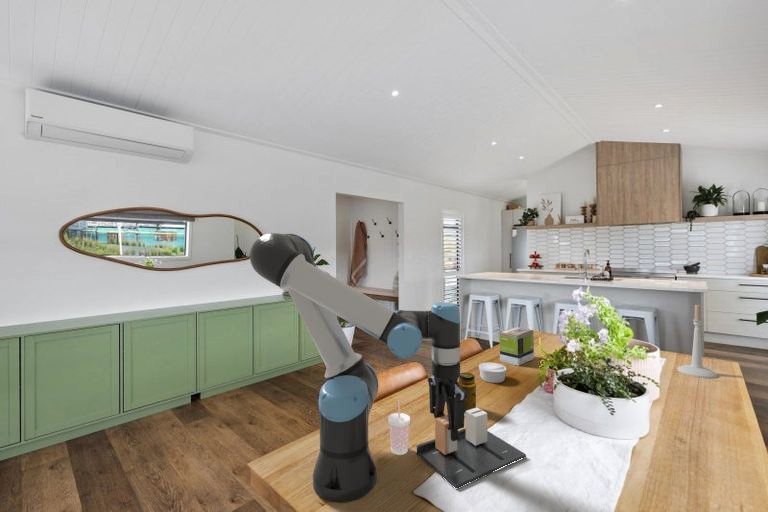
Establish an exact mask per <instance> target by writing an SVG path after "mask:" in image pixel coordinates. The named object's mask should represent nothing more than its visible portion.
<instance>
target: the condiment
mask: <svg viewBox="0 0 768 512" xmlns="http://www.w3.org/2000/svg"><path fill="white" fill-rule="evenodd" d="M475 376H476V375H474V373H471V372H460V376H459V378H458V385H459V389H460V390H461V391H462V392H463V391H465V392H466V394H467V395H466V398H465V411H464V418H466V411H467V410H470V409H474V408H477V392H476V391H477V384H476V380H475V379H476V378H475Z"/></svg>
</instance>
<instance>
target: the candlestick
mask: <svg viewBox="0 0 768 512" xmlns="http://www.w3.org/2000/svg"><path fill="white" fill-rule="evenodd" d="M701 317H702V305H700V304H694V319H692V321H693V325H694V330H693V342H692V351H691V352H692V354H691V363H690V364H683V365H680V366H677V371H678V372H679V373H682V374H684V375H687V376H692V377H694V378H695V377H696V378H702V379H715V378H717V377H718V374H717V373H716V372H715V371H714V370H712V369H710V368H707V367H704V365H703V356H702V355H703V354H702V353H703V351H702V337H701V336H702V334H701V330H702V329H701V326H702V323H703V322H704V320H702V318H701Z"/></svg>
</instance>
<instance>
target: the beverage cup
mask: <svg viewBox="0 0 768 512" xmlns="http://www.w3.org/2000/svg"><path fill="white" fill-rule="evenodd" d="M397 403H398V404H397V411H398V412H395V413H391V414H389V415H388V416H387V420H388V423H389V425H388V426H389V438H390V439H389V441H390V450H391V453H392V454H394V455H397V456H401V455H406V454H407V453H408V450H409V433H410V422H411V417H410V415H408V414H406V413H403V412H401V400H400V399H398V400H397Z"/></svg>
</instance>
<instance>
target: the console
mask: <svg viewBox="0 0 768 512" xmlns="http://www.w3.org/2000/svg"><path fill="white" fill-rule="evenodd" d="M416 455H417V456H418V457H419V458H420V459H421V460H423V462H424V463H426V464H427V465H428V466H429V467H430V468H431V469H433V470H434V471H435V473H437V472H438V473H439V474H440V475H441V476H442V477H441V476H440V475H439V474H438V473H437V474H438V475H439V476H440V477H441V478H443V477H444V478H445V479H446V480H447V481H448V482H449V483H450V484H451V485H453V486H454V487H455V488H458V489H460V488H459V487H461V486H463V485H465V484H467V483H469V482H472V481H474V480H476V479H478V478H481V477H483V476H485V475H487V476H489V475H491V474H490V473H492V472H493V471H495V470H497V469H499V468H501V467H503V466H505V465H508V464H510V463H512V462H514V461H517V460H519V459H521V458H524V457H526V458H527V454H526V453H525V452H522V451H521V450H519V449H518V448H517V447H515V446H513V445H511V443H510V444H509V443H508V442H506V441H505V440H503V439H501V438H500V437H498V436H497V435H496V434H493V433H492V432H490V431H489V430H487V442H484V443H481V444H479V445H476V446H475V445H474V444H472V443H471V442H470V441H468V440H467V439H466V427H465V428H461V429H459V430H458V450H456V451H454V452H451V453H448V454H446V455H444V454H443V453H442V452H441V451H439V450H438V449H437V448H436V447H435V438H433V439H432V440H429V441H425V442H422V443H419V444H417V445H416ZM488 474H489V475H488ZM492 474H493V473H492ZM485 477H486V476H485ZM444 478H443V479H444ZM483 478H484V477H483ZM445 479H444V480H445ZM481 479H482V478H481ZM446 480H445V481H446ZM478 480H479V479H478ZM447 481H446V482H447ZM476 481H477V480H476ZM448 482H447V483H448ZM474 482H475V481H474ZM449 483H448V484H449ZM472 483H473V482H472ZM450 484H449V485H450ZM451 485H450V486H451ZM467 485H468V484H467ZM453 486H452V487H453ZM465 486H466V485H465ZM454 487H453V488H454ZM463 487H464V486H463ZM455 488H454V489H455ZM461 488H462V487H461Z"/></svg>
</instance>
